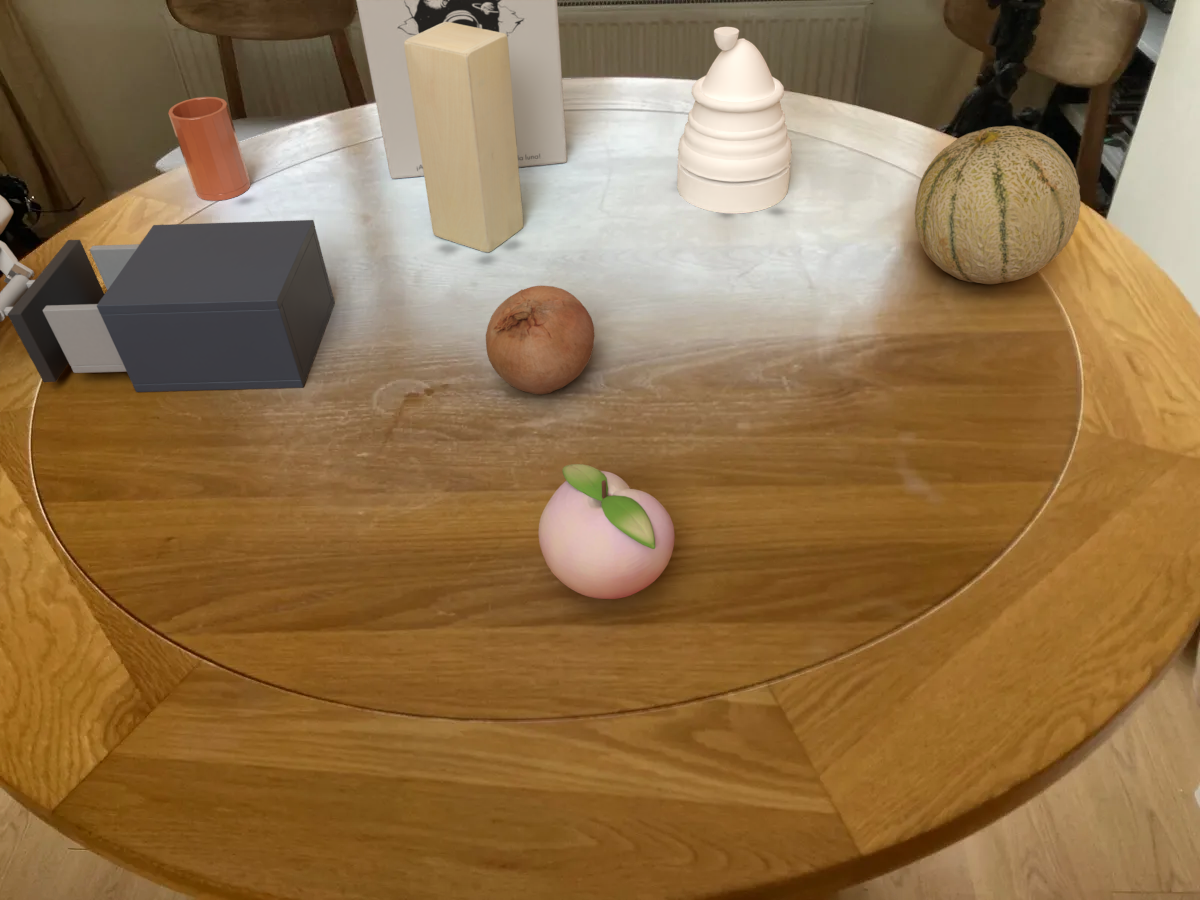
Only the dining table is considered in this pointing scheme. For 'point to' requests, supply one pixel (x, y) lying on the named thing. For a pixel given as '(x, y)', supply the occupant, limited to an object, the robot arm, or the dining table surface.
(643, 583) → the decorative fruit
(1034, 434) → the dining table surface
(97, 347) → the drawer
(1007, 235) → the cantaloupe
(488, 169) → the tall wooden block
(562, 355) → the onion
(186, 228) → the cabinet
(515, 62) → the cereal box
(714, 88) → the honey pot
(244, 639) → the dining table surface
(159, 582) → the dining table surface
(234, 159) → the cup
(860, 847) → the dining table surface
